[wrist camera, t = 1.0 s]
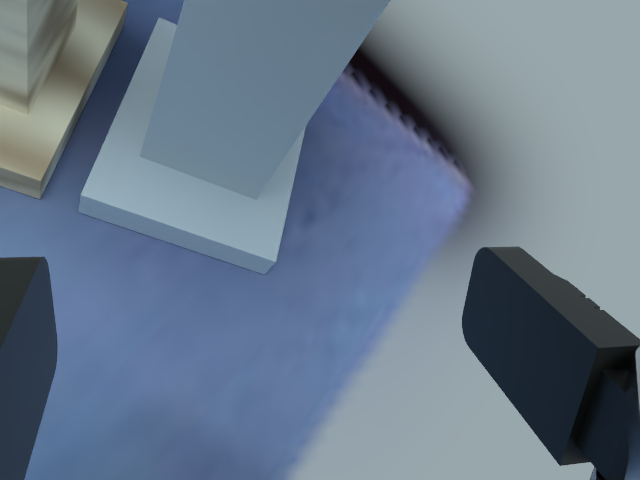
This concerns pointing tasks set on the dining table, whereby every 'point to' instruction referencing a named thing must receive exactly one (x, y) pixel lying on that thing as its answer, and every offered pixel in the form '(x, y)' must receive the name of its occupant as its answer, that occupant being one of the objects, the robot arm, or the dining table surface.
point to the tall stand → (223, 122)
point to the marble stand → (48, 80)
